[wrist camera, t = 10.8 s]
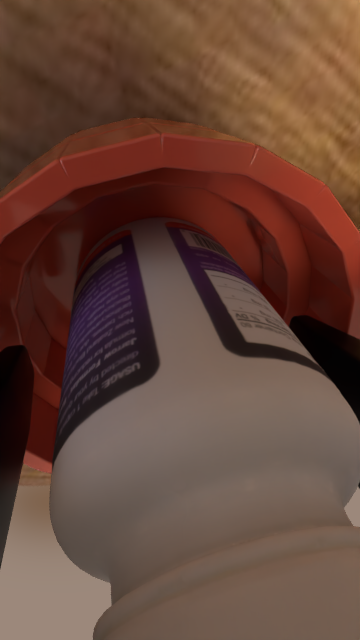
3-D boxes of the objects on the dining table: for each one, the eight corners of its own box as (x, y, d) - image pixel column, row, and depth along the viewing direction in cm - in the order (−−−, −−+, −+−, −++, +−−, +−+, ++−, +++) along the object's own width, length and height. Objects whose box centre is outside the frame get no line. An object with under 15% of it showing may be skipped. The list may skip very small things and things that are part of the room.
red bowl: (314, 309, 14) (388, 386, 10) (118, 415, 15) (123, 515, 12) (219, 26, 8) (320, -28, 4) (-89, 247, 9) (-210, 346, 6)
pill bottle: (103, 364, 12) (106, 817, 5) (48, 234, 9) (-235, 1001, 1) (235, 331, 13) (441, 700, 5) (228, 195, 10) (768, 641, 2)
